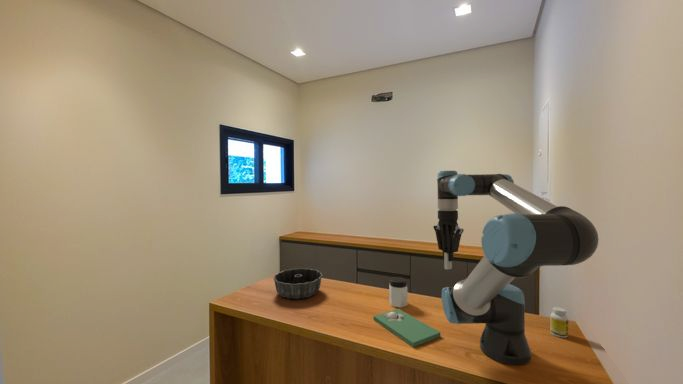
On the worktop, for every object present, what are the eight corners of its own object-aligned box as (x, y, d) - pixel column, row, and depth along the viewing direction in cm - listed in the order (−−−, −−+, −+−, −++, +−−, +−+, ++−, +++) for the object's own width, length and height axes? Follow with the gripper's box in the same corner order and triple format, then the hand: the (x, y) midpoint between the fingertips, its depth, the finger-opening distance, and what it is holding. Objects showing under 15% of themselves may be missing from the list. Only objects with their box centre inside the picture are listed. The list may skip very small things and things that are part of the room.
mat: (440, 336, 106) (440, 332, 106) (413, 347, 99) (413, 342, 99) (398, 312, 127) (398, 308, 127) (373, 319, 120) (373, 316, 120)
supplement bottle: (569, 339, 103) (569, 313, 102) (551, 335, 106) (551, 310, 105) (567, 333, 107) (567, 307, 107) (549, 329, 110) (549, 305, 110)
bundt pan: (320, 303, 139) (320, 283, 138) (267, 303, 139) (267, 283, 139) (324, 284, 165) (324, 268, 165) (280, 285, 165) (280, 268, 165)
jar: (397, 309, 130) (397, 283, 130) (385, 303, 137) (385, 279, 137) (411, 304, 135) (410, 280, 135) (399, 299, 142) (398, 275, 142)
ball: (397, 310, 119) (392, 310, 122) (391, 313, 117) (385, 313, 120) (399, 319, 118) (394, 319, 121) (393, 322, 116) (388, 321, 119)
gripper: (468, 210, 107) (468, 271, 107) (441, 208, 118) (441, 263, 118) (455, 211, 103) (455, 274, 103) (428, 209, 114) (428, 266, 115)
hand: (448, 268), depth 111 cm, fingers closed
